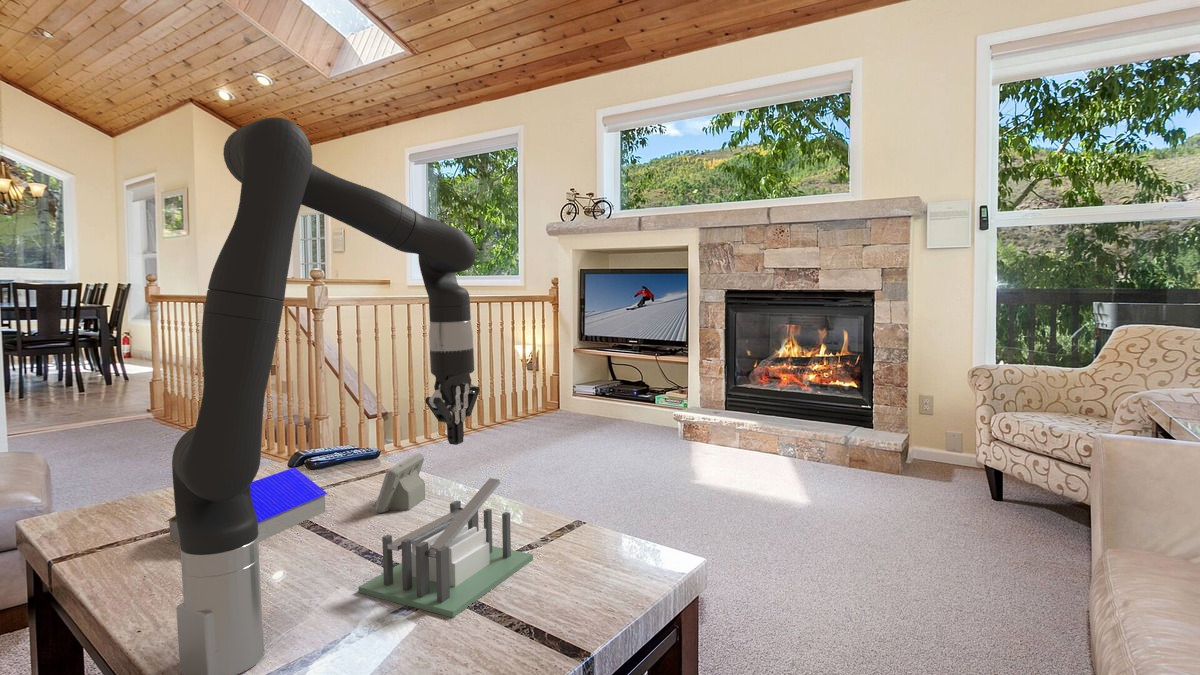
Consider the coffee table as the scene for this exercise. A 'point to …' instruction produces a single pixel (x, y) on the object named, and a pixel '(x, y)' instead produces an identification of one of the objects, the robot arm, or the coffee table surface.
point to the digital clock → (402, 486)
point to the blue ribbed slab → (279, 503)
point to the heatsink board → (448, 568)
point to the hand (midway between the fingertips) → (456, 443)
